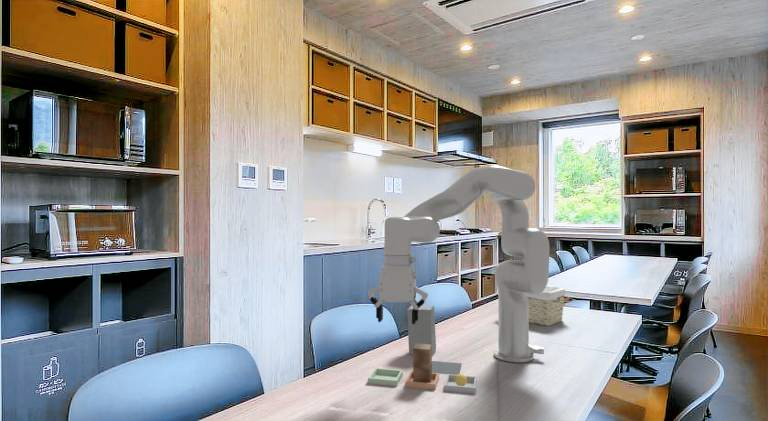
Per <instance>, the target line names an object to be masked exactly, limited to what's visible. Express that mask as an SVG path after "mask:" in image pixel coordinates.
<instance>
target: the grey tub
mask: <svg viewBox="0 0 768 421" xmlns="http://www.w3.org/2000/svg"><path fill="white" fill-rule="evenodd" d="M456 376H457V375H453V374H446V377H445V380H444V385H443V386H444V387H443V391H444V392H453V393H455V392H456V393H465V394H466V393H467V394H474V395H475V394H477V393H476V392H477V386H478V385H477V384H478V376H476V375H475V376H474V375H465V376H466V378H467V383H466V384H465V385H464V386H458V385H457V384H456V382H455V377H456Z"/></svg>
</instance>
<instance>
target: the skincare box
mask: <svg viewBox="0 0 768 421" xmlns="http://www.w3.org/2000/svg"><path fill="white" fill-rule="evenodd" d="M412 310H413V307H412V305H411V304H410V306H409V307H408V308H407V309H406V312H407V314H406V315H407V334H408V335H407V337H408V354H409V355H413V348H414V346H415V344H430V345H432V356H433V355H434V353H435V352H436V351H437V341H436V339H437V338H436V337H437V336H436V319H435V305H430V304H428V305H425V304H423V305H422V306H421V307H420V308H418V321H416V323H415V324H412Z"/></svg>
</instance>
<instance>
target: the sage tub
mask: <svg viewBox="0 0 768 421" xmlns="http://www.w3.org/2000/svg"><path fill="white" fill-rule="evenodd" d="M403 376H404V370H403V369H393V368H392V369H390V368H381V367H375V368H374V369H373V370H372V372H371V373H370V375H369V376H368V378H367V384H370V385H379V386H381V385H382V386H389V387H390V386H392V387H398V385H399V384H400V381H401V379H402V378H403Z"/></svg>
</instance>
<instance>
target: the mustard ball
mask: <svg viewBox="0 0 768 421" xmlns="http://www.w3.org/2000/svg"><path fill="white" fill-rule="evenodd" d="M466 376H467V375H465V374H462V373H460V374H458V375H457V376H456V377H455V382H456V384H457V385H458V386H464V385H465V384H466V383H467V378H466Z"/></svg>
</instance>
